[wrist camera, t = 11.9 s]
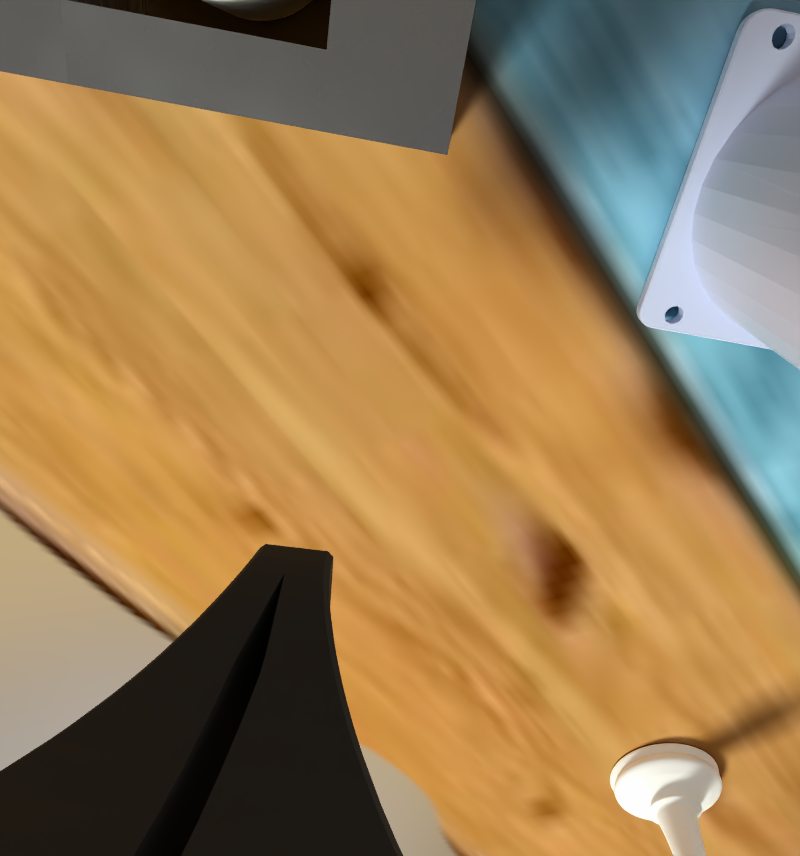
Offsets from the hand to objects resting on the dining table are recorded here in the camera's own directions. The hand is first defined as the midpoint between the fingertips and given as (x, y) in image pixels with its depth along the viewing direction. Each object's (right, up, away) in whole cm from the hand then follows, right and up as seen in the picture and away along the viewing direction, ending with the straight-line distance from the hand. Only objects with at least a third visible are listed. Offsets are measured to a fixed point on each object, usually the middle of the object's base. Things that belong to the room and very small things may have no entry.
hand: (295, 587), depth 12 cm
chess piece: (+15, -13, +17) cm, 26 cm away
